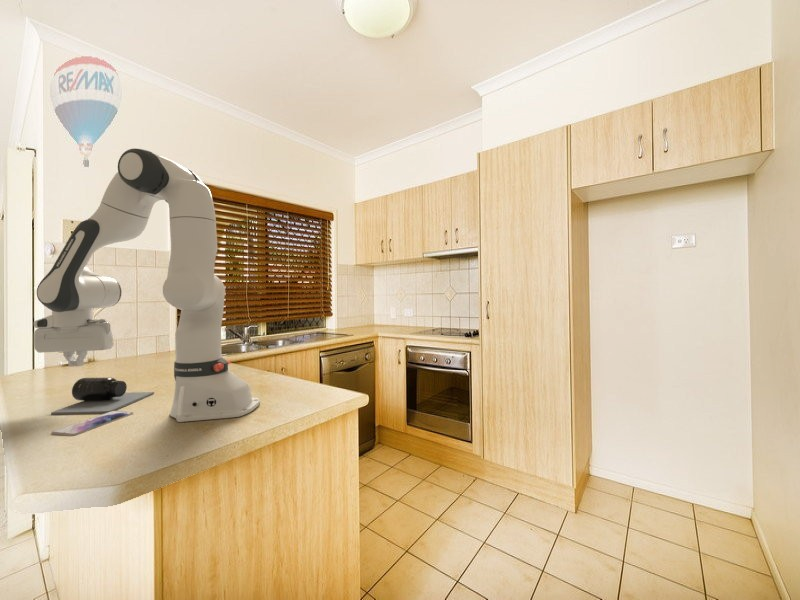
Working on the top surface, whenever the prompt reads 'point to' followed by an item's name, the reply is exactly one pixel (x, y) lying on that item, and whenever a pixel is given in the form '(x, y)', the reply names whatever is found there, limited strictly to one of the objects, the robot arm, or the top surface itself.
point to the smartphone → (91, 423)
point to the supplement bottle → (98, 389)
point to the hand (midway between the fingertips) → (76, 366)
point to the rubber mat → (103, 404)
